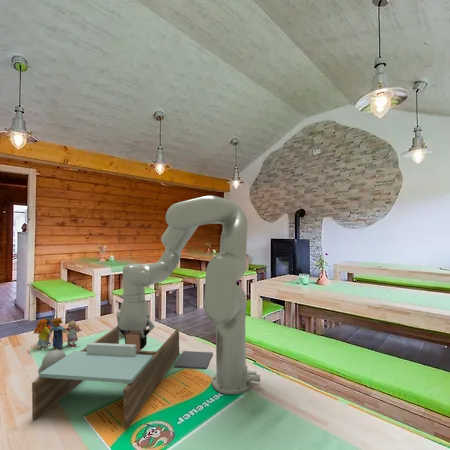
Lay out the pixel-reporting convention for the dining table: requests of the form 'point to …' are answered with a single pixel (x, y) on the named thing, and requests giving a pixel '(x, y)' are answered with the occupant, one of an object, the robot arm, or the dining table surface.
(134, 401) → the wooden shelf frame
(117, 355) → the sliding cover
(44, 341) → the doll family
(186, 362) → the rubber mat
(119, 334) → the coffee cup
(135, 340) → the terracotta block
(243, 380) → the robot arm
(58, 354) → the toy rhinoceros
